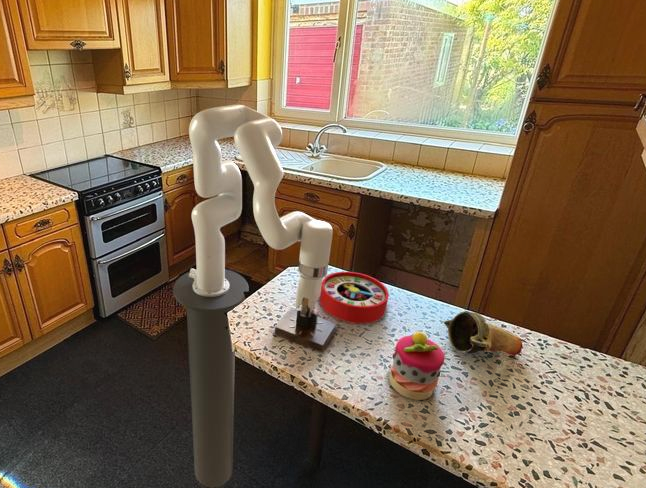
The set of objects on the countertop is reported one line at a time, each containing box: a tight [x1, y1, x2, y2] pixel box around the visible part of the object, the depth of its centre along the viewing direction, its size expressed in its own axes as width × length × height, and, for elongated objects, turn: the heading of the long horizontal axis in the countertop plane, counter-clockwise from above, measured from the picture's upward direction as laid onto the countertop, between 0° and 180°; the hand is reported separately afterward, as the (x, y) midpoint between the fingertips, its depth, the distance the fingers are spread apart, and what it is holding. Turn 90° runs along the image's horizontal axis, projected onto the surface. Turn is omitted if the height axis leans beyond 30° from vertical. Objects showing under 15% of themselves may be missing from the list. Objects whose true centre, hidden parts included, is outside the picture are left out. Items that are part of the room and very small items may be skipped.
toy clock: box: [319, 271, 390, 325], centre depth 125 cm, size 20×6×20 cm
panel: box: [274, 307, 338, 353], centre depth 113 cm, size 14×11×3 cm
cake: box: [388, 331, 446, 401], centre depth 93 cm, size 10×11×15 cm
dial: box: [296, 305, 319, 330], centre depth 112 cm, size 5×2×5 cm, turn 65°
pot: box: [443, 310, 524, 357], centre depth 106 cm, size 17×11×18 cm
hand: (306, 322), depth 112 cm, fingers closed on dial, 2 cm apart
